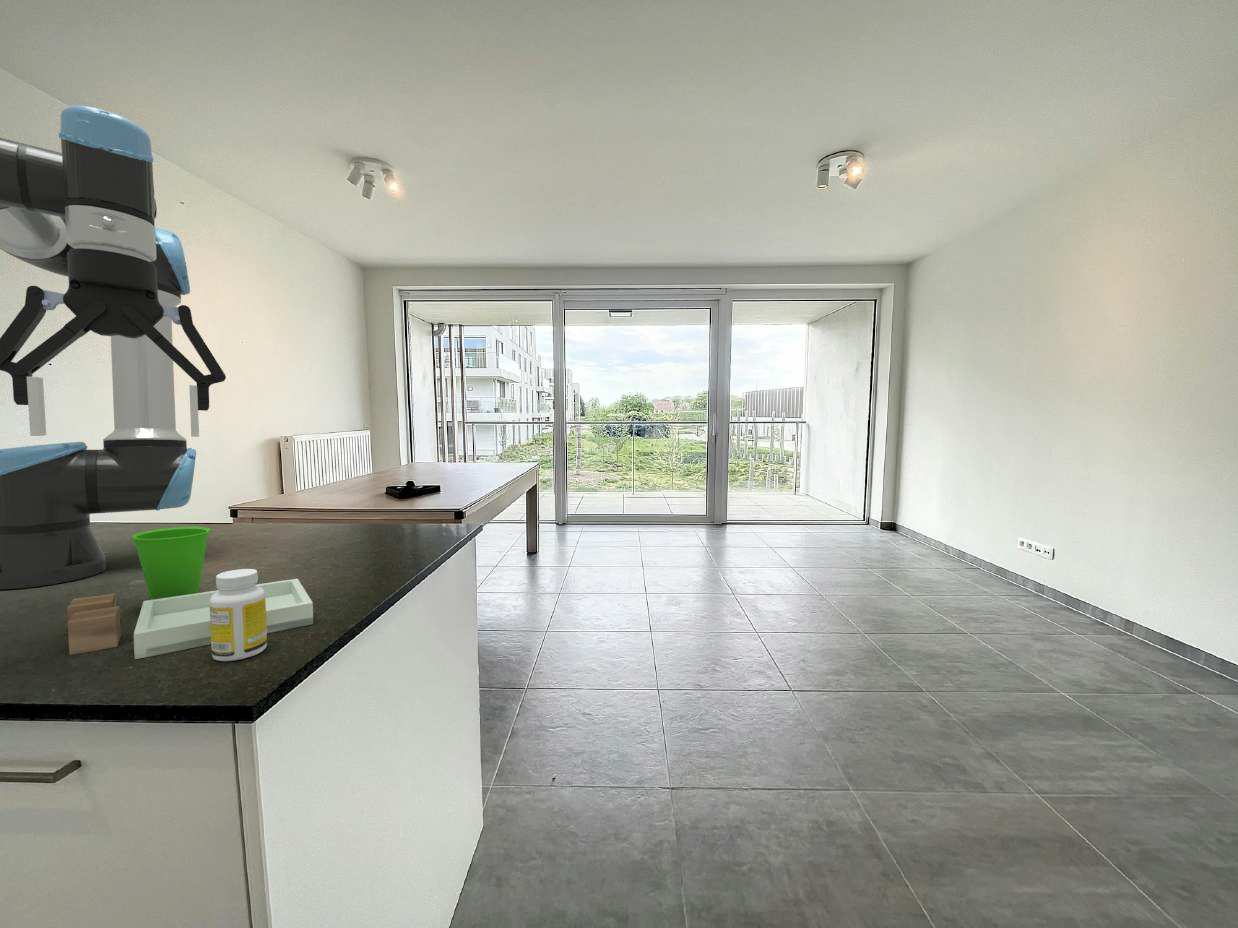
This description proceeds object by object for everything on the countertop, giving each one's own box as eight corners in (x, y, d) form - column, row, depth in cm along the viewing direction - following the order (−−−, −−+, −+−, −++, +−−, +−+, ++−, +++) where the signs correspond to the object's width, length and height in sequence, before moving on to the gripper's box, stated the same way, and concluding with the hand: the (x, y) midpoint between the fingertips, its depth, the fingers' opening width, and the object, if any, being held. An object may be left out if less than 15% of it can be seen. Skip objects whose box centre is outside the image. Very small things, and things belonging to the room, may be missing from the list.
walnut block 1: (74, 628, 68) (73, 598, 67) (116, 621, 70) (115, 593, 70) (68, 638, 65) (67, 607, 64) (113, 630, 67) (111, 601, 67)
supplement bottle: (268, 639, 65) (266, 564, 64) (266, 656, 61) (263, 575, 60) (214, 648, 62) (211, 570, 62) (208, 666, 58) (205, 582, 57)
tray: (144, 622, 70) (143, 601, 70) (298, 596, 81) (297, 578, 81) (134, 659, 59) (133, 634, 59) (313, 623, 70) (312, 602, 70)
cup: (167, 617, 72) (164, 540, 71) (117, 611, 74) (113, 536, 73) (228, 596, 81) (226, 528, 80) (182, 592, 82) (179, 525, 82)
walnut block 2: (75, 644, 63) (74, 612, 63) (120, 636, 65) (119, 606, 65) (69, 655, 60) (67, 622, 60) (117, 647, 62) (115, 615, 62)
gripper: (-73, 217, 49) (-56, 436, 51) (246, 271, 65) (251, 437, 67) (-44, 237, 55) (-30, 433, 57) (243, 283, 71) (247, 435, 72)
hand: (122, 436), depth 62 cm, fingers open, 13 cm apart
